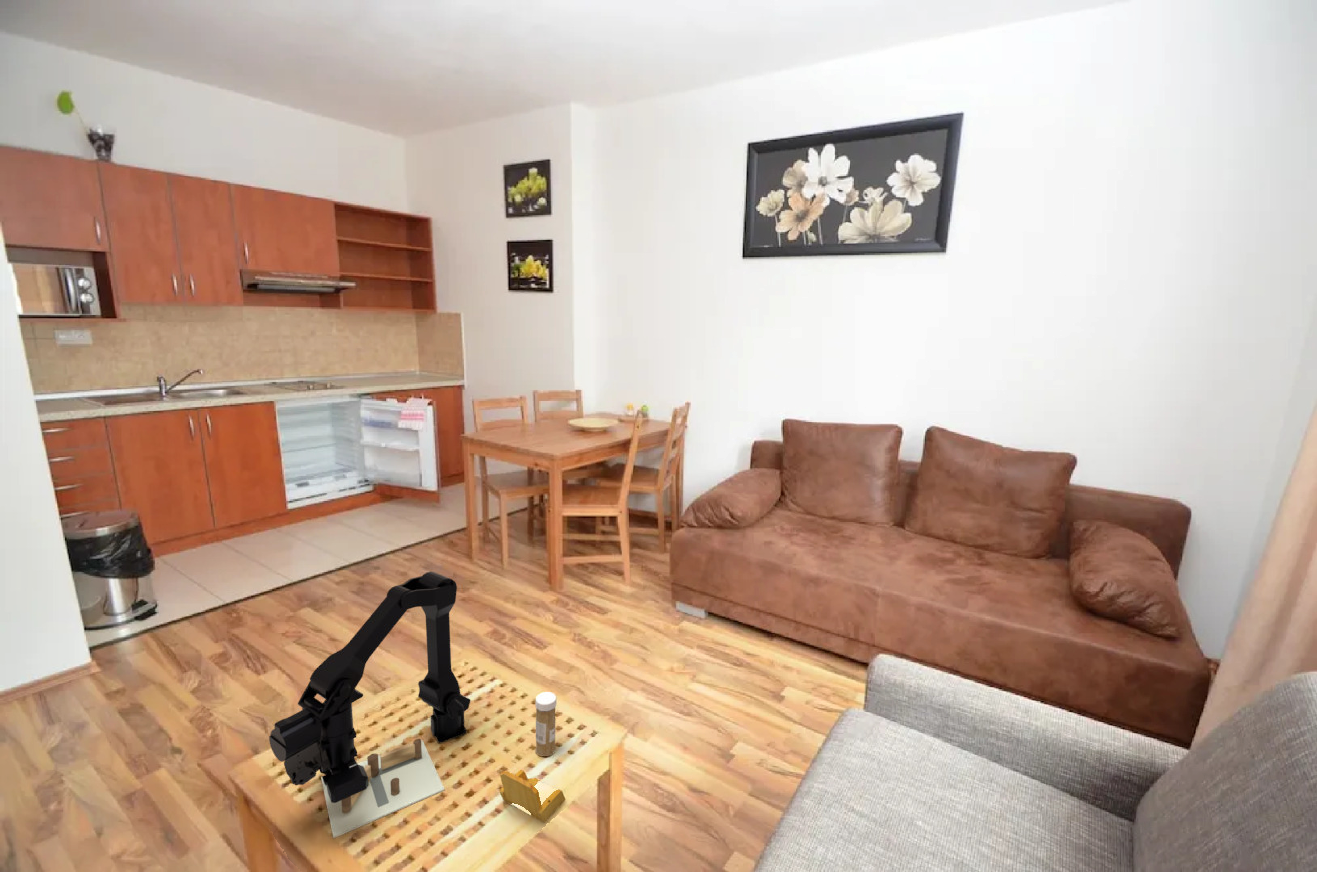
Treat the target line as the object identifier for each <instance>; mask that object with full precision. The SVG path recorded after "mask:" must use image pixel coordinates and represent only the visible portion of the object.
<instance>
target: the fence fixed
mask: <svg viewBox="0 0 1317 872" xmlns="http://www.w3.org/2000/svg"><path fill="white" fill-rule="evenodd" d="M421 740H422V739H420V738H416V739H414V740H413V742H410V743H407V744H405V745H404V744H403V745H402V746H399V747H396V748H393V749H391V750H388V751H386V752H383V753H380V754H378V753H371V754H369V755H368V756H367V759H366V760H368V765H371V778H374V777H376V776H377V775H378V774H379V762H378V756H379V755H380V760H381V769H385V768H388V767H390V766H393V765H395V764H398V763H401V762H403V761H406V760H408V759H411V758H414V759H415V760H418V759H420V758H421V757H422V749H421ZM390 783H391V795H392V796H395V795H398V794H399V792H400V787H399V778H394V779H392V780H391V782H390Z"/></svg>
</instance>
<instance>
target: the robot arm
mask: <svg viewBox="0 0 1317 872" xmlns="http://www.w3.org/2000/svg"><path fill="white" fill-rule="evenodd" d="M457 592H458V586H457V582H456V581H455V580H453V579H452V578H450V577H447V576H445V575H443V574H439V573H437V572H435V571H427V572H425V573H424V574H422V575H420V576H416V577H412V578H409V579H408V580H406V581H405V582H404V583H402V584H398V585H394V586H393V587H391V588H390V589H389V590H388V591H387V593H386V596H385V598H384V599H383V600H382V601H381V603H380V604H378V606H377V607H376V609H375V610H374V612H373V613H372V614H371V615H370V616H369V617H368V618H367V619H366V621H364V624H362V626H361V627H360V628H359V629H358V631H357V632H355V634H354V635H353V637H352V638H351V639H350V640H349V641H348V643H346V645H345V646H344V647H342V648H341V649H340V650H337V651H336V652H334V653H332V654H329V656H328V657H326V659H325V660H324V661H322V663H321V664H319V665H318V666H317V667H316V668H315V670H314V671H313V672H312V674H311V675H310V678H309V680H310V681H309V682H308V685H307V686H306V688H305V689H304V691H303V693H302V695H301V696H300V698H299V700H298V702H297V705H298V706H299V707H301V710H299V711H298V712H296V713H294V714H292V715H290V716H288V717H286V718H282V719H281V720H278V721H276V722H275V723H274V725H273V726H274V728H273V729H272V730H271V731H270V734H269V736H268V741H269V745H270V748H271V751H272V753H273V754H274V756H275V758H276V759H277V760H278V761H279V762H281V763H282V762H283V765H284V766H283V767H284V770H285V772H286V775H287V777H288V778H289V779H290V781H291V784H292V785H294V786H304V785H305V784H306V783H308V782H309V781H311V780H312V779H313V778H315V777H316V775H317V772H318V771H319V773H321V774H323V775H322V776H321V777H322V778H323V781H324V784H325V785H326V786H327V791H328V795H329V797H330V800H331V802H332V803H337V802H339V801H341V800H343V799H345V798H348V797H350V796H352V795H354V794H356V793H359V792H361V791H363V790H365V789H367V787H368V786H369V783H368V776H367V774H366V771H365V769H364V767H363V766H361V765H358V762H357V761H356V757H358V751H357V748H356V746H355V739H356V738H357V732H356V730H355V727H354V717H353V703H354V702H357V701H358V700H360V699H362V698H363V697H364V693H362V692H361V691H359V690H357V689H356V688H357V686H358V685H359V683H360V682H361V679H362V678H363V675H364V673H365V669H366V664H367V662H368V661H369V659H370V658H371V656H372V655H373V653H374V652H375V651H376V650H377V649H378V647H379V646H380V645H381V644H382V643H383V641H384V640H385V639H386V638H387V636H388V635H389V633H390V632H391V631H392V630H393V628H394V627H395V626H396V625H397V623H398V622H399V621H400V619H402V617H403V616H404V615H405V613H406V612H407V611H408V610H411V609H413V608H417V607H418V608H419V607H420V608H421V609H422V611H423V612H424V614H425V628H426V629H425V631H426V632H425V634H426V652H427V656H426V657H427V658H426V659H427V673H426V675H425V676H424V678H423V679H422V680H419V681H418V684H417V685H418V689H419V690H418V691H419V692H418V695H417V696H418V698H420V699H421V701H422V702H423V703H425V704H427V705H428V706H429V707H431V708H432V714H431V715H430V731H431V734H432V736H433V738H435V739H436V741H437V743H438V744H442V743H444V742H447V741H449V740H452V739H455V738H457V737H460V736H462V735H465V734H467V732H468V730H467V728H466V727H465V712H466V711H467V710H469V708H470V705H471V704H470V703H471V699H470V698H468V697H467V696H465V695H464V694H462V693H461V689H460V685H459V681H458V679H457V677H456V676H455V673H454V671H453V669H452V656H451V655H452V652H451V650H452V647H451V630H450V629H451V628H450V627H451V625H450V624H451V623H450V612H451V610H452V609H453V607H454V605H455V604H456V599H457ZM317 695H319V696H320V697H322V699H324V701H323V702H322V701H320V700H319V699H317V698H316V696H317Z"/></svg>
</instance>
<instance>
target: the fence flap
mask: <svg viewBox="0 0 1317 872" xmlns="http://www.w3.org/2000/svg"><path fill="white" fill-rule="evenodd" d="M364 769H365V771H366V774H367V776H368V782H369V781H370V779H371V765H366V766H365V767H364ZM361 792H362V791H361ZM361 792H359V793H356V794H354V795H352V796H350V797H348V798H345V799H343V800H341V802H342V813H348V812H350V811H351V809H352V808H351V807H352V806H353V804H354V803H355V801H356V800H357V798H358V797H359V795H360V794H361Z"/></svg>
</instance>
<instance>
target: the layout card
mask: <svg viewBox="0 0 1317 872" xmlns="http://www.w3.org/2000/svg"><path fill="white" fill-rule="evenodd" d="M421 749H422V757H421V758H420V759H418V760H415V759H414V758H411V759H408V760H406V761H403V762H401V763H398V764H395V765H393V766H390V767H388V768H385V769H381V760H380V754H378V762H379V774H378V775H377V776H376V777H374V778H371V779H370V781H369V782H368V783H369V786H368V787H367V789H365V790H363V791H362V792H361V794H360V795H359V797H358V798H357V800H356V801H355V803H354V804H353V806H352V807H351V808H352V809H351V811H350V812H348V813H342V802H341V801H339V802H337V803H332V802H331V800H330V797H329V795H328V791H327V786H326V785H325V784H324V781H323V778H322V776H321V777H320V778H321V779H320V780H321V784H322V789H323V794H324V799H325V803H326V808H327V813H328V817H329V823H330V828H331V833H332V838H333V839H335V838H337V837H340V836H342V835H344V834H346V833H349V832H352V831H354V830H355V829H358V828H360V827H361V828H362V827H363V826H366V825H367V824H369V823H372V822H374V821H377V820H380V819H381V818H382V819H383V818H384V817H385V816H388V815H391V814H393V813H395V812H399V811H400V810H402V809H404V808H407V807H409V806H412V805H414V804H416V803H418V802H419V803H420V802H421V801H423V800H425V799H428V798H430V797H432V796H434V795H437V794H439V793H441V792H444V791H445V787H444V783H442V780H441V777H440V775H439V774H438V771H437V770H436V767H435V765H434V762H433V761H432V758H431V756H430V753H429V752H428V750H427V747H426V745H425V743H424V741H423V739H421ZM357 764H358V765H361V766H363V767H365V766H366V765H368V759H366V760H363V761H361V762H357ZM394 778H399V787H400V792H399V794H398V795H395V796H392V795H391V783H390V782H391V780H392V779H394Z"/></svg>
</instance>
